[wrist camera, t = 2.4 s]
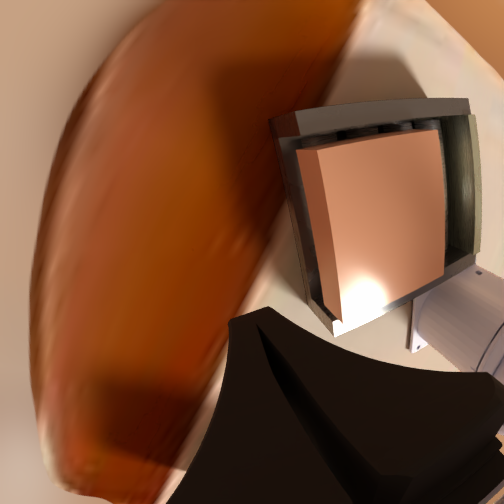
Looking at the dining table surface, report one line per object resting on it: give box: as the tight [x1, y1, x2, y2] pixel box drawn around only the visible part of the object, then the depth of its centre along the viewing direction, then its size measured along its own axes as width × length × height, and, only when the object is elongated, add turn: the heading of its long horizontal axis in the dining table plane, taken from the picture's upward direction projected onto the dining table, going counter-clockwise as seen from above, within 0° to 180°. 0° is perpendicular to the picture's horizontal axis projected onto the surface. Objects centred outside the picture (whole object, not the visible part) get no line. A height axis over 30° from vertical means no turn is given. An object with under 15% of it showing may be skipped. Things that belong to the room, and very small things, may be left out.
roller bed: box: [268, 98, 482, 337], centre depth 18 cm, size 14×13×5 cm
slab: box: [296, 129, 445, 325], centre depth 16 cm, size 8×9×2 cm
